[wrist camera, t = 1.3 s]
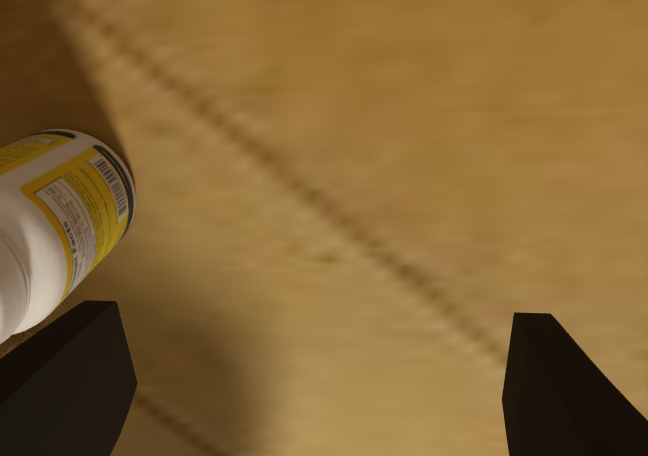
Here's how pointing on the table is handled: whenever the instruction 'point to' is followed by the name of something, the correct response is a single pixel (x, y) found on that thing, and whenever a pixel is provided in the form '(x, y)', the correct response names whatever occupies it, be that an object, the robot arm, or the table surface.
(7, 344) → the steel bracket
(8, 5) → the table surface
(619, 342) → the table surface
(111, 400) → the robot arm
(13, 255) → the supplement bottle
